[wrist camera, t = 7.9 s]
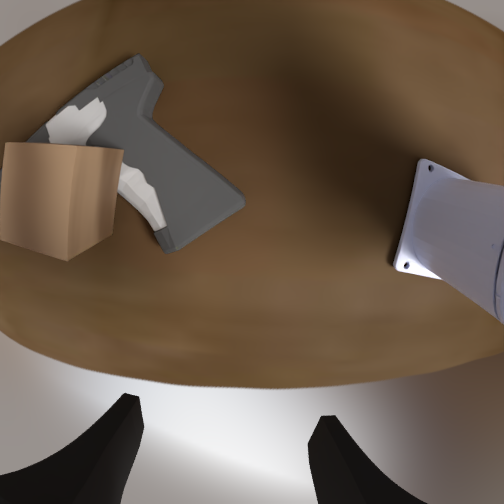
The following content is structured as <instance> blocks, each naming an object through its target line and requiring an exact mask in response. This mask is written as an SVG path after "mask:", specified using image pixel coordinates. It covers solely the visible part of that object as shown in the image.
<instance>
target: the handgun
mask: <svg viewBox="0 0 504 504" xmlns="http://www.w3.org/2000/svg"><path fill="white" fill-rule="evenodd" d="M163 87H164V85H163V82H162V80H161V79H160V78H159V77H158V76H157V75H156V74H155V73H153V72H152V70H151V68H150V66H149V64H148V61H147V60H146V59H145V58H143V57H142V56H141V55H140V54H139V53H138V54H136V55H135V56H133V57H131V58H130V59H128V60H126V61H125V62H123V63H122V64H120V65H119V66H117V67H115V68H114V69H112V70H111V71H109V72H108V73H106V74H105V75H103V76H102V77H101V78H99V79H98V80H96V81H95V82H94V83H92V84H91V85H89V86H88V87H87V88H85V89H84V90H83V91H82V92H80V93H79V94H78V95H76V96H75V97H74V98H73V99H71V100H70V101H69V102H68V103H66V104H65V105H64V106H63V107H62V108H60V109H59V110H58V111H57V113H56V115H55V116H54V117H53V118H52V119H50V120H49V121H48V122H46V123H45V124H44V125H43V126H41V127H40V128H39V129H38V130H37V131H36V132H35V133H34V134H33V135H32V136H31V137H30V138H29V139H28V140H27V141H26V142H29V143H58V144H72V145H84V146H95V147H105V148H114V149H122V150H124V154H123V159H122V165H121V171H120V177H119V184H118V191H117V192H118V193H119V194H120V195H121V196H122V197H124V198H125V199H126V200H127V201H128V202H129V203H131V204H132V205H133V206H134V207H135V208H136V209H137V210H138V211H139V212H140V213H141V214H142V215H143V216H144V217H145V218H146V219H147V220H148V222H149V224H150V225H151V227H152V228H153V230H154V231H155V232H154V235H155V237H156V239H157V241H158V243H159V244H160V246H161V248H162V250H163V252H164V253H166V254H168V253H171V252H175V251H178V250H180V249H181V248H183V247H184V246H185V245H187V244H188V243H190V242H191V241H193V240H194V239H196V238H197V237H199V236H200V235H202V234H203V233H205V232H206V231H208V230H209V229H211V228H212V227H214V226H215V225H217V224H218V223H220V222H221V221H223V220H224V219H226V218H227V217H229V216H231V215H232V214H234V213H235V212H237V211H238V210H240V209H241V208H243V207H244V206H245V203H246V200H245V196H244V194H243V193H242V192H241V191H240V190H239V189H238V188H237V187H235V186H234V185H233V184H232V183H231V182H229V181H228V180H227V179H226V178H225V177H223V176H222V175H221V174H220V173H218V172H217V171H216V170H215V169H213V168H212V167H211V166H210V165H208V164H207V163H206V162H204V161H203V160H202V159H201V158H199V157H198V156H197V155H195V154H194V153H193V152H191V151H190V150H189V149H188V148H186V147H185V146H184V145H183V144H181V143H180V142H179V141H178V140H177V139H175V138H174V137H173V136H172V135H170V134H169V133H168V132H167V131H165V130H164V129H163V128H161V127H160V126H159V125H158V124H157V123H156V122H155V121H154V120H153V119H152V112H153V109H154V106H155V104H156V102H157V100H158V98H159V96H160V94H161V92H162V89H163ZM2 168H3V167H2ZM1 179H2V169H1V170H0V195H1Z"/></svg>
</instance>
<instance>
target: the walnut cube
mask: <svg viewBox="0 0 504 504" xmlns="http://www.w3.org/2000/svg"><path fill="white" fill-rule="evenodd" d="M123 154H124V150H122V149H114V148H105V147H95V146H84V145H72V144H58V143H29V142H6V144H5V151H4V159H3V168H2V179H1V195H0V240H2V241H5V242H8V243H11V244H14V245H17V246H20V247H23V248H26V249H29V250H32V251H35V252H38V253H42V254H45V255H48V256H51V257H55V258H58V259H61V260H65V261H69V260H70V259H72V258H74V257H75V256H77V255H79V254H80V253H82V252H83V251H85V250H87V249H89V248H90V247H92V246H94V245H95V244H97V243H99V242H100V241H102V240H104V239H106V238H107V237H109V236H111V235H113V224H114V214H115V206H116V198H117V191H118V184H119V177H120V171H121V165H122V159H123Z"/></svg>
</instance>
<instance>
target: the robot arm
mask: <svg viewBox="0 0 504 504" xmlns="http://www.w3.org/2000/svg"><path fill="white" fill-rule="evenodd" d="M429 165H430V167H431V170H430V171H429V170H428V166H429ZM406 262H407V265H406V267H404V264H405V263H406ZM393 266H394V268H395V269H396V270H398V271H401V272H406V273H411V274H416V275H421V276H427V277H432V278H437V279H442V280H444V281H445V282H447V283H448V284H450V285H451V286H453V287H454V288H455V289H457V290H458V291H460V292H461V293H463V294H464V295H465V296H467V297H468V298H470V299H471V300H472V301H474V302H475V303H476V304H478V305H479V306H480V307H482V308H483V309H485V310H486V311H487V312H489V313H490V314H491V315H492V316H494V317H495V318H496V319H498V320H499V321H500V322H502V323H503V324H504V186H500V185H495V184H489V183H483V182H477V181H471V180H469V179H467V178H465V177H463V176H461V175H459V174H457V173H455V172H453V171H451V170H449V169H447V168H445V167H443V166H441V165H439V164H436V163H434V162H432V161H430V160H427V159H420V160H419V161H418V164H417V169H416V175H415V180H414V185H413V190H412V194H411V199H410V203H409V207H408V211H407V216H406V220H405V223H404V227H403V231H402V235H401V238H400V242H399V245H398V249H397V252H396V256H395V259H394V262H393ZM143 430H144V423H143V417H142V411H141V405H140V399H139V396H135V395H130V394H127V393H124V394H123V395H122V396H121V397H120V398H119V399H118V400H117V401H116V402H115V403H114V404H113V405H112V407H111V408H110V409H109V410H108V411H107V412H106V413H105V414H104V415H103V416H102V417H101V418H100V419H98V420H97V421H96V422H95V423H94V424H93V425H92V426H91V427H90V428H89V429H87V430H86V431H85V432H84V433H83V434H82V435H80V436H79V437H78V438H77V439H75V440H74V441H73V442H71V443H70V444H69V445H67V446H66V447H64V448H63V449H61V450H60V451H58V452H56V453H55V454H53V455H51V456H49V457H48V458H46V459H44V460H42V461H40V462H38V463H35V464H33V465H31V466H28V467H26V468H23V469H21V470H18V471H15V472H11V473H8V474H4V475H0V504H120V503H121V498H122V494H123V491H124V487H125V484H126V481H127V479H128V476H129V474H130V471H131V468H132V466H133V463H134V460H135V457H136V455H137V452H138V449H139V447H140V442H141V438H142V434H143ZM308 455H309V465H310V469H311V474H312V479H313V483H314V487H315V492H316V496H317V501H318V504H427V503H425V502H423V501H421V500H419V499H418V498H416V497H414V496H413V495H411V494H410V493H408V492H407V491H405V490H404V489H402V488H401V487H399V486H398V485H397V484H395V483H394V482H393V481H392V480H390V479H389V478H388V477H387V476H386V475H385V474H384V473H383V472H382V471H380V469H379V468H378V467H377V466H376V465H375V464H374V463H373V462H372V461H371V460H370V459H369V458H368V457H367V455H366V454H365V453H364V452H363V451H362V450H361V448H360V447H359V446H358V445H357V443H356V442H355V441H354V440H353V439H352V437H351V436H350V435H349V433H348V432H347V430H346V429H345V428H344V426H343V425H342V424H341V423H340V421H339V420H338V418H337V417H336V416H335V415H332V416H321V417H320V419H319V422H318V424H317V426H316V428H315V430H314V432H313V434H312V436H311V438H310V440H309V442H308Z"/></svg>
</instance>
